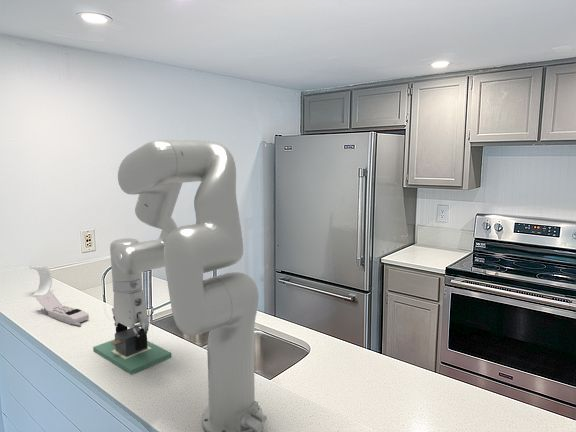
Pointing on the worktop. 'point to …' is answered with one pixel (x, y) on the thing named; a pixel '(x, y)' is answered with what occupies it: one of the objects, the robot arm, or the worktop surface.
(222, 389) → the robot arm
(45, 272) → the headphone stand
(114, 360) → the header board
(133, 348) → the block
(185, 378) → the worktop surface
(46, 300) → the mobile phone
